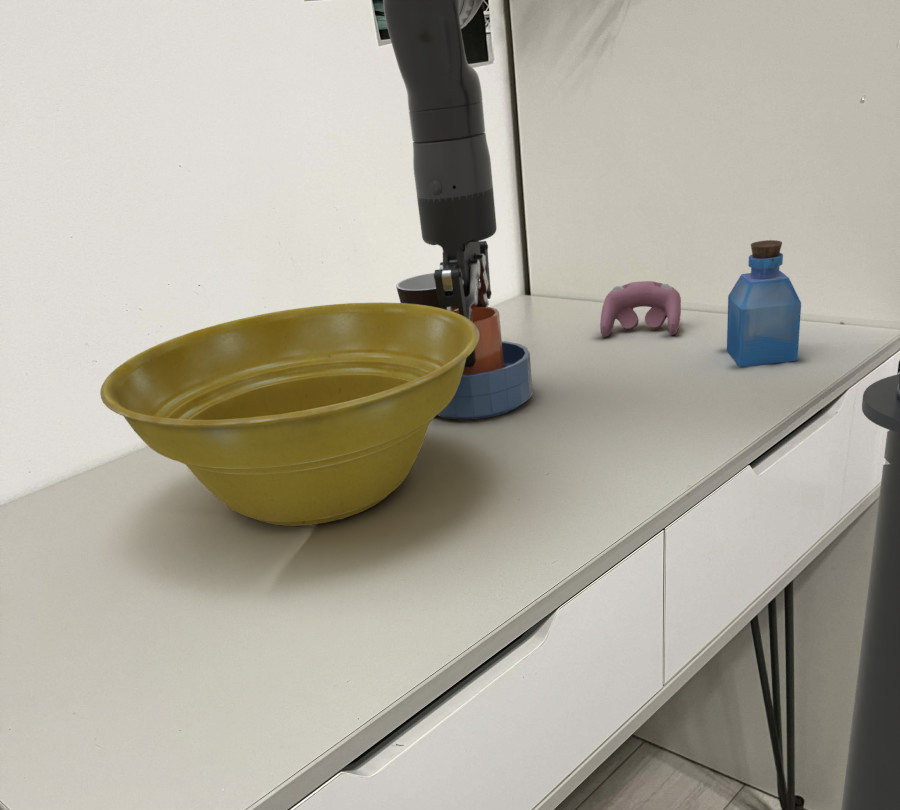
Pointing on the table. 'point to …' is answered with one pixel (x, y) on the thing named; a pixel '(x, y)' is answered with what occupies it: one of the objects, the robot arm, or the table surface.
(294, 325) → the planter bowl
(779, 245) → the perfume bottle
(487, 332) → the cup
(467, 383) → the bowl
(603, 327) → the video game controller
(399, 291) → the coffee mug
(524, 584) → the table surface
